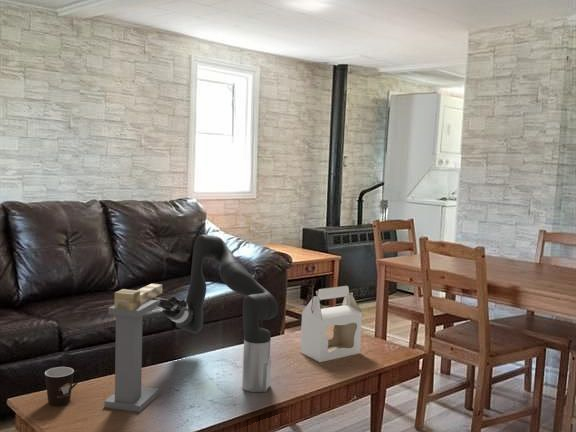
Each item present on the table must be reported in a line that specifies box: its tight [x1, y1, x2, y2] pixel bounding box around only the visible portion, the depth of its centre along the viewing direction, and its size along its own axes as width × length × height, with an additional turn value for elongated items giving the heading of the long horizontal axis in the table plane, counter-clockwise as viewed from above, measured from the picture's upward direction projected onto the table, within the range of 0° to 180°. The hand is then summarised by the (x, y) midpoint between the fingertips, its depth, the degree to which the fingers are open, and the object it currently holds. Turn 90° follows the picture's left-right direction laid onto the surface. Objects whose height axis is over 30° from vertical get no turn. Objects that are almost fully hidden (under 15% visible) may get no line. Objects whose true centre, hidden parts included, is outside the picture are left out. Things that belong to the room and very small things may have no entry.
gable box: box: [299, 285, 363, 363], centre depth 243 cm, size 22×13×28 cm, turn 126°
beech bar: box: [113, 283, 163, 310], centre depth 190 cm, size 24×6×5 cm, turn 168°
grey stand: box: [103, 299, 160, 413], centre depth 187 cm, size 12×14×32 cm
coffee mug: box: [44, 366, 83, 407], centre depth 186 cm, size 12×9×10 cm
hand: (160, 297), depth 206 cm, fingers open, 8 cm apart
